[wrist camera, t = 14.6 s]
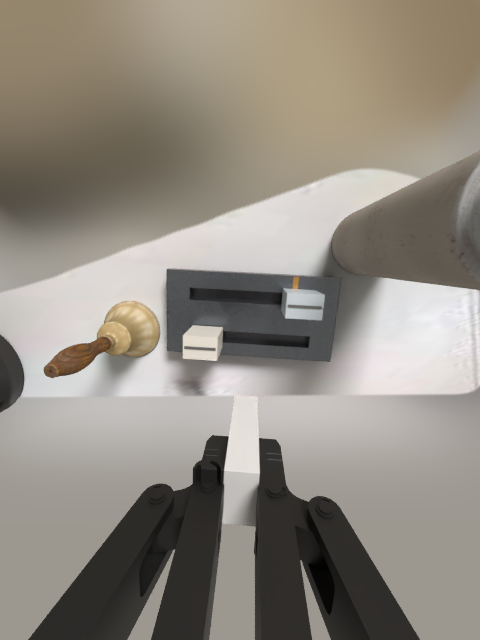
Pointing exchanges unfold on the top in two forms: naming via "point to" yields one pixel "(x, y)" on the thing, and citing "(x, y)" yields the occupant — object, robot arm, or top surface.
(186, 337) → the fader
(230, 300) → the console
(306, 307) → the fader
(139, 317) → the hand bell
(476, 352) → the top surface
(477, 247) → the thermos bottle
